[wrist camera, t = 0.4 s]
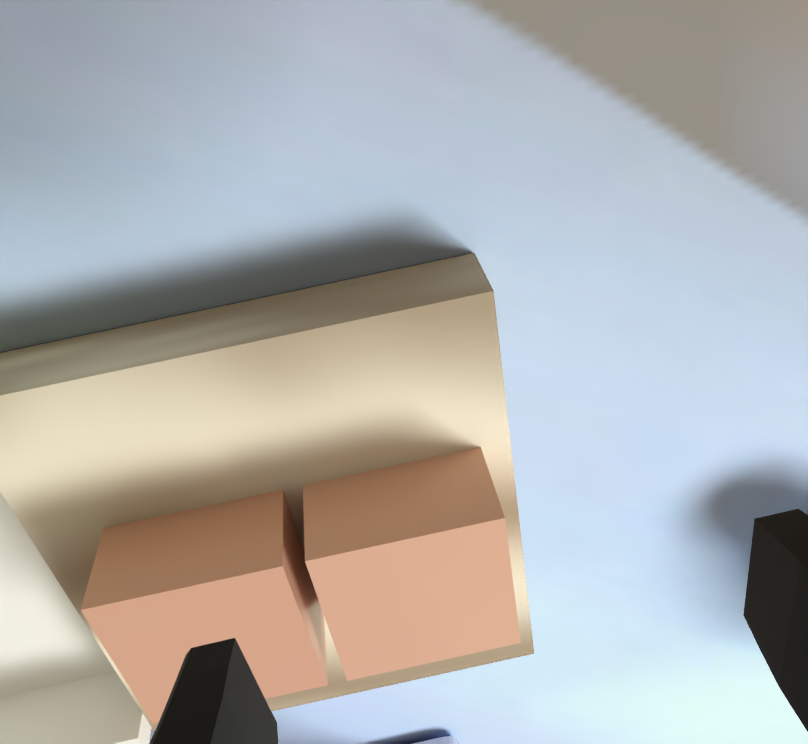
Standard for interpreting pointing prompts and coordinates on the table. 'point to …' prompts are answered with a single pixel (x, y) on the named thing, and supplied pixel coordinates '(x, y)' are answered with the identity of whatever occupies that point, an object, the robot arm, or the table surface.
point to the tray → (53, 659)
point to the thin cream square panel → (259, 419)
